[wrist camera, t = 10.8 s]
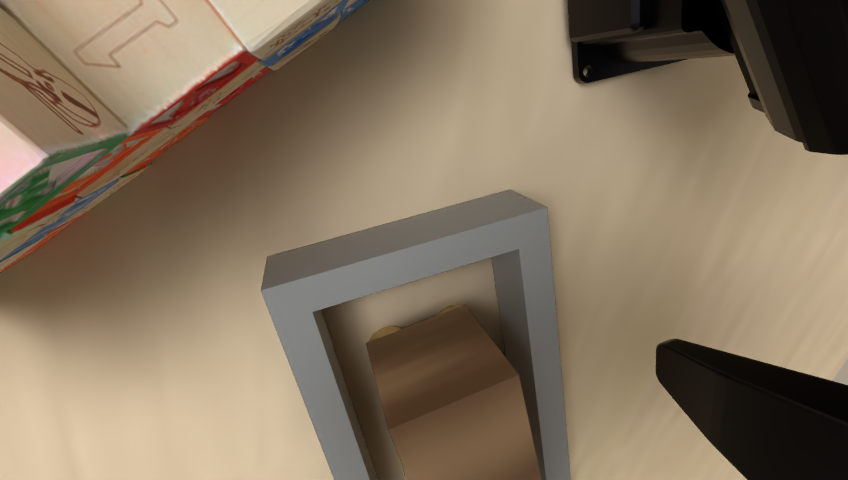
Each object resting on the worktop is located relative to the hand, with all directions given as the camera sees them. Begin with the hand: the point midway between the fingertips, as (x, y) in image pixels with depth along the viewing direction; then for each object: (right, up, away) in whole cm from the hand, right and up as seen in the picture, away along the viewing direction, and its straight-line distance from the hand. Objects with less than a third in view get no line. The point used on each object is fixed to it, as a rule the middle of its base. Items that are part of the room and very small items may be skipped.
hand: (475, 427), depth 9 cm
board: (0, -5, +13) cm, 14 cm away
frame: (0, -5, +15) cm, 16 cm away
